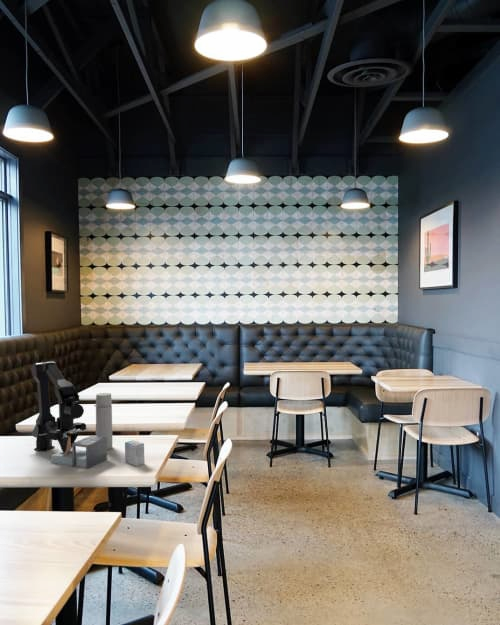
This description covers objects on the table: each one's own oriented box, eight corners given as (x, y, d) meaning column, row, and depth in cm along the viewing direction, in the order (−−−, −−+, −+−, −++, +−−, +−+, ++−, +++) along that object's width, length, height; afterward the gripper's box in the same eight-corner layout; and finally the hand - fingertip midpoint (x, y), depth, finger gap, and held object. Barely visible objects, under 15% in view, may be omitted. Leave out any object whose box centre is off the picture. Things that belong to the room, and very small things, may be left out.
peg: (66, 456, 213) (66, 435, 213) (72, 457, 212) (72, 436, 212) (61, 458, 210) (61, 437, 210) (67, 459, 209) (67, 438, 209)
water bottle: (116, 447, 228) (115, 393, 228) (103, 451, 222) (102, 396, 221) (103, 444, 233) (102, 391, 232) (89, 448, 226) (88, 394, 226)
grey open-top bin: (91, 457, 214) (91, 435, 213) (107, 459, 211) (106, 437, 211) (72, 466, 203) (72, 443, 202) (88, 468, 200) (87, 445, 199)
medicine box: (144, 464, 205) (144, 443, 205) (135, 466, 201) (135, 445, 201) (134, 459, 210) (133, 439, 210) (124, 462, 207) (124, 441, 207)
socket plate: (67, 455, 217) (67, 448, 217) (103, 459, 210) (103, 452, 210) (51, 462, 208) (51, 455, 208) (87, 467, 201) (87, 460, 201)
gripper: (66, 408, 222) (67, 443, 223) (34, 418, 205) (35, 455, 205) (86, 410, 218) (87, 445, 219) (56, 420, 201) (56, 458, 201)
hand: (66, 450), depth 211 cm, fingers closed on peg, 3 cm apart
